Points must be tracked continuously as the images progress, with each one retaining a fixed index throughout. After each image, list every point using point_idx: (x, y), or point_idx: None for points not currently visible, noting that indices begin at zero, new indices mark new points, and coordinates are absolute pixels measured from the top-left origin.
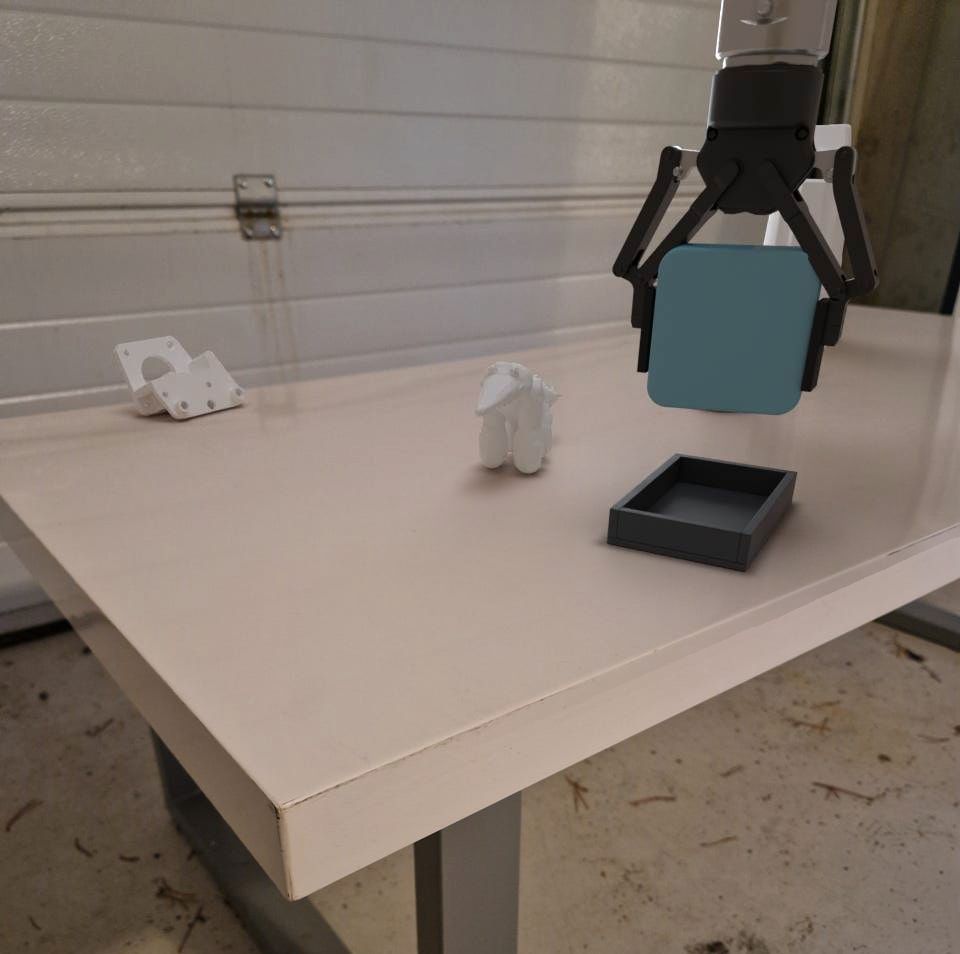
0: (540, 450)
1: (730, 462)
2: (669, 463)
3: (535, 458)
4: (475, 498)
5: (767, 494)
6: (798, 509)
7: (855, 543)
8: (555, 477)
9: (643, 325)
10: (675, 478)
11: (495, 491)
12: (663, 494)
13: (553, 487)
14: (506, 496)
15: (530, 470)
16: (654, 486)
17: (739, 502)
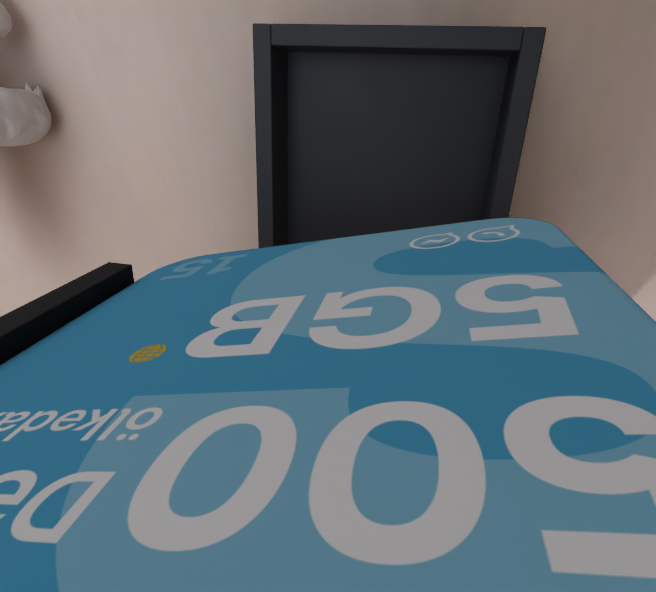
0: (27, 124)
1: (382, 33)
2: (265, 115)
3: (35, 131)
4: (59, 264)
5: (476, 55)
6: (544, 67)
7: (645, 211)
8: (88, 112)
9: None
10: (283, 75)
11: (61, 225)
12: (287, 149)
13: (114, 167)
14: (85, 239)
15: (47, 132)
16: (277, 219)
17: (425, 127)
